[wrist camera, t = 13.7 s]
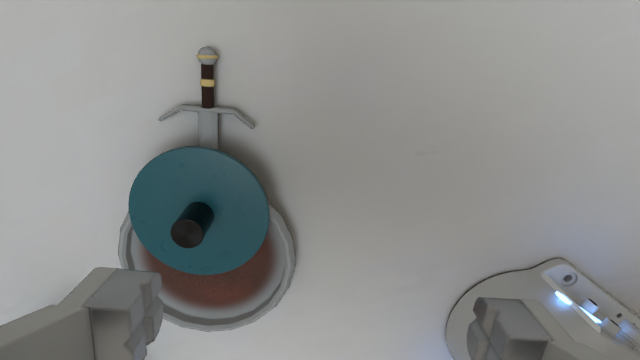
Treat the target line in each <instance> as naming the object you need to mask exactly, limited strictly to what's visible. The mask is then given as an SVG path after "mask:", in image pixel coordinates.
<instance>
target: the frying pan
mask: <svg viewBox="0 0 640 360" xmlns="http://www.w3.org/2000/svg"><path fill="white" fill-rule="evenodd" d="M196 56H197V57H198V60H199V62H200V63H201V81H200V84H201V86H202V106H199V105H186V104H183V105H180V106H179V107H177V108H175V109H173V110H171V111H170V112H168V113H166V114H164V115H163V116H161V117H159V119H158V121H163V120H165V119H166V118H168V117H170V116H172V115H174V114H175V113H177V112H179V111H181V110H183V111H196V112H198V125H199V146H201V147H208V148H213V149H217V150H218V113H222V114H234V115H235V116H236V117H237V118H238V119H240V120H241V121H242V122H243V123H245V124H246V125H247V126H248V127H250V128H251V129H254V127H255V125H254V124H253V123H252V122H251V121H250V120H249V119H247V118H246V117H245V116H244V115H242V114H241V113H240V112H239V111H237V110H236V109H234V108H224V107H214V85H215V81H214V79H213V64H214V63H215V62H216V59H217V58H218V56H217V55H216V53H215V51H214V50H213V49H212V48H210V47H203V48H201V49H200V50H199V52H198V54H197V55H196ZM268 204H269V203H268ZM269 212H270V218H269V226H268V230H267V234H266V237H265V239H264V242H263V243H262V245H261V247H260V248H259V250H258V251H257V252H256V253H255V255H254V256H253V257H252V258H251V259H249V260H248V261H247V262H245V263H244V264H243V265H241V266H239V267H237V268H235V269H233V270H230V271H228V272H224V273H220V274H213V275H198V274H191V273H186V272H183V271H179V270H176V269H174V268H172V267H170V266H168V265H166V264H164V263H163V262H161V261H160V260H158V259H157V258H156V257H154V256H153V255H152V254H151V253H150V252H149V251H148V250H147V249H146V248H145V247H144V245H143V244H142V243H141V242H140V240H139V238H138V237H137V235H136V233H135V231H134V229H133V226H132V223H131V220H130V215H129V212H128V214H127V216H126V218H125V220H124V222H123V224H122V226H121V228H120V238H119V249H118V255H119V260H120V263H121V267H122V269H129V270H139V271H150V272H159V274H160V275H161V278H162V289H161V290H160V292H159V293H158V295H157V296H158V297H159V298H160V299H161V301H162V302H163V319H165V320H167V321H169V322H172V323H174V324H176V325H178V326H180V327H183V328H189V329H194V330H200V331H205V332H211V331H225V330H233V329H236V328H239V327H241V326H244V325H247V324H250V323H253V322H255V321H256V320H258V319H259V318H260V317H262V316H263V315H264V314H266V313H267V312H268V311H270V310H271V309H273V308H274V307H275V306H277V304H278V303H279V301H280V300H281V298H282V297H283V295H284V294H285V292H286V291H287V290H288V288H289V287H290V283H291V279H292V275H293V271H294V267H295V255H294V246H293V239H292V237H291V235H290V233H289V231H288V229H287V227H286V225H285V223H284V221H283V219H282V216H281V215H280V214H279V213H278V212H277V211H276V210H275V209H274V208H273V207H272V206H271V205H270V204H269Z"/></svg>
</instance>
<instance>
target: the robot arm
mask: <svg viewBox="0 0 640 360" xmlns="http://www.w3.org/2000/svg"><path fill="white" fill-rule="evenodd" d="M566 275H568V276H567V277H565V276H566ZM564 277H565V278H564ZM161 289H162V278H161V275H160V274H159V272H150V271H139V270H129V269H118V268H106V267H99V268H95V269H94V270H93V271H92V272H91V273H90V274H89V275H88V276H87V277H86V278H85V279H84V280H83V281H82V282H81V283H80V284H79V285H78V286H77V287H76V288H75V289H74V290H73V291H72V292H71V293H70V294H69V295H68V296H67V297H66V298H65V299H64V300H63V301H62V302H61V303H60V304H59V305H50V306H48V307H45V308H43V309H40V310H38V311H35V312H33V313H31V314H28V315H26V316H23V317H21V318H18V319H16V320H14V321H11V322H9V323H6V324H4V325H2V326H0V360H144V358H145V357H146V355H147V349H146V345H148V344H150V343H151V342H153V341H154V340H155V338H156V336H157V335H158V333H159V330H160V326H161V323H162V318H163V302H162V301H161V299H160V298H159V297H158V296H157V295H158V293H159V292H160V290H161ZM446 342H447V346H448V349H449V351H450V353H451V355H452V357H453V358H454V360H640V318H639V317H637V316H636V315H635V314H633V313H632V312H631V311H630V310H628V309H627V308H626V307H625V306H623V305H622V304H621V303H619V302H618V301H617V300H616V299H614V298H613V297H612V296H610V295H609V294H608V293H607V292H605V291H604V290H603V289H602V288H600V287H599V286H598V285H596V284H595V283H594V282H593V281H591V280H590V279H589V278H588V277H586V276H585V275H584V274H582V273H581V272H580V271H579V270H577V269H576V268H575V267H573V266H572V265H571V264H570V263H568V262H567V261H566V260H564V259H560V258H557V259H553V260H550V261H547V262H545V263H543V264H541V265H539V266H537V267H535V268H533V269H529V270H523V271H515V272H509V273H504V274H500V275H497V276H494V277H492V278H489V279H487V280H485V281H483V282H481V283H480V284H478V285H476V286H475V287H473V288H472V289H471V290H470V291H468V292H467V293H466V294H465V295H464V296H463V297H462V298H461V299H460V300H459V302H458V303H457V304H456V306H455V307H454V309H453V310H452V312H451V314H450V317H449V319H448V322H447V327H446Z"/></svg>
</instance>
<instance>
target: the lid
mask: <svg viewBox="0 0 640 360" xmlns="http://www.w3.org/2000/svg"><path fill="white" fill-rule="evenodd" d="M129 215H130V220H131V223H132V226H133V229H134V231H135V233H136V235H137V237H138V238H139V240H140V242H141V243H142V244H143V245H144V247H145V248H146V249H147V250H148V251H149V252H150V253H151V254H152V255H153V256H154V257H156V258H157V259H158V260H160V261H161V262H163V263H164V264H166V265H168V266H170V267H172V268H174V269H176V270H179V271H183V272H186V273H191V274H198V275H213V274H220V273H224V272H228V271H230V270H233V269H235V268H237V267H239V266H241V265H243V264H244V263H245V262H247V261H248V260H249V259H251V258H252V257H253V256H254V255H255V253H256V252H257V251H258V250H259V248H260V247H261V245H262V243H263V242H264V239H265V237H266V234H267V230H268V226H269V218H270V212H269V204H268V199H267V196H266V193H265V191H264V189H263V187H262V185H261V183H260V182H259V180H258V179H257V177H256V176H255V175H254V173H253V172H252V171H251V170H250V169H249V168H248V167H247V166H246V165H244V164H243V163H242V162H241V161H239V160H238V159H236V158H235V157H233V156H231V155H229V154H227V153H225V152H222V151H219V150H217V149H213V148H208V147H201V146H186V147H179V148H176V149H172V150H169V151H167V152H164V153H162V154H160V155H159V156H157V157H155V158H154V159H153V160H151V161H150V162H149V163H148V164H147V165H145V166H144V168H143V169H142V170H141V171H140V172H139V174H138V175H137V177H136V178H135V180H134V183H133V185H132V188H131V191H130V195H129Z"/></svg>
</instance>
